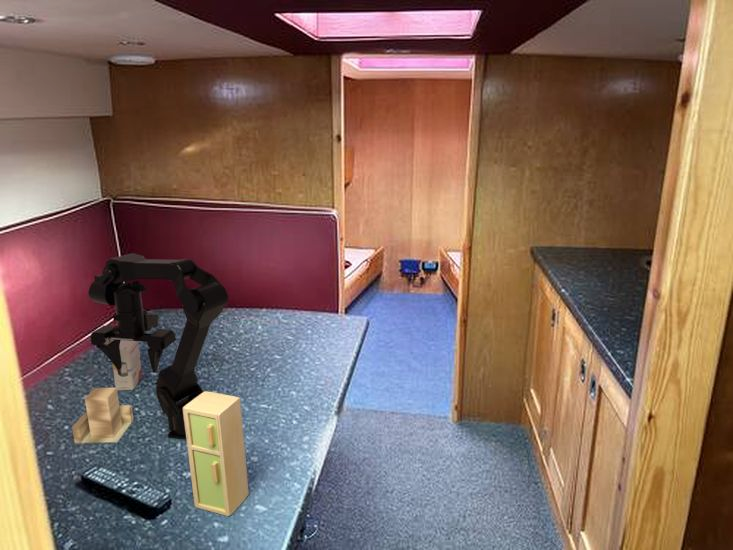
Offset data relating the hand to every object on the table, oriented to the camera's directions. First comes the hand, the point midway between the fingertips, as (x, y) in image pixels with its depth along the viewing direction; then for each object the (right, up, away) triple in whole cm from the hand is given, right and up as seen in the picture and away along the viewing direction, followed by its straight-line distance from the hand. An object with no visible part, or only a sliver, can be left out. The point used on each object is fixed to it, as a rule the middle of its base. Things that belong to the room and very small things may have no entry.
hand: (137, 370), depth 132 cm
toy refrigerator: (+27, -20, -27) cm, 44 cm away
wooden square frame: (-6, -13, -3) cm, 15 cm away
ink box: (-10, -7, +20) cm, 23 cm away
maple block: (-5, -13, -4) cm, 15 cm away
